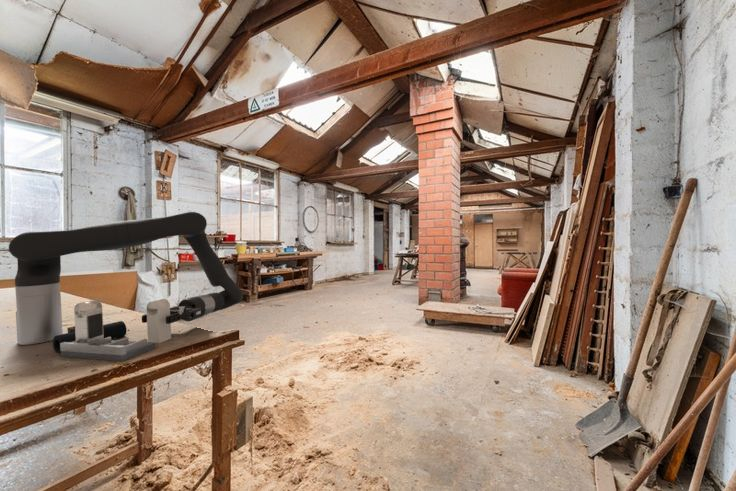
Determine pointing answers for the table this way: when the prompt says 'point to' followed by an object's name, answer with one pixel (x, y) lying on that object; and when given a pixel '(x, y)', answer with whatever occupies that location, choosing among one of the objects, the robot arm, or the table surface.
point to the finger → (158, 321)
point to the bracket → (99, 338)
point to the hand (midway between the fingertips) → (154, 319)
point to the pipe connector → (109, 330)
